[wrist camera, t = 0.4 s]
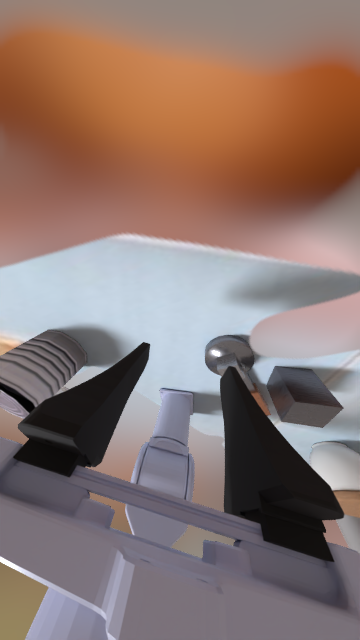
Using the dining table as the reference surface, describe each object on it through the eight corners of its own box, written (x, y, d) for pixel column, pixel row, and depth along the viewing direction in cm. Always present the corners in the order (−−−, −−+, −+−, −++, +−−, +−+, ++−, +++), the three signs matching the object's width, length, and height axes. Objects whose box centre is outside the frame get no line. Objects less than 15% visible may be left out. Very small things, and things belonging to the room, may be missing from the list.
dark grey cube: (298, 389, 25) (322, 427, 19) (266, 385, 25) (281, 421, 20) (311, 369, 22) (343, 408, 17) (274, 366, 23) (295, 401, 18)
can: (81, 372, 35) (28, 426, 24) (38, 348, 32) (-40, 396, 22) (94, 350, 29) (34, 409, 19) (44, 319, 27) (-56, 366, 17)
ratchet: (278, 403, 28) (290, 429, 24) (241, 408, 31) (247, 432, 27) (240, 328, 20) (248, 348, 16) (197, 344, 23) (195, 364, 19)
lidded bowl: (379, 449, 30) (461, 545, 20) (329, 461, 36) (372, 538, 27) (328, 430, 29) (387, 519, 20) (287, 446, 36) (316, 518, 26)
